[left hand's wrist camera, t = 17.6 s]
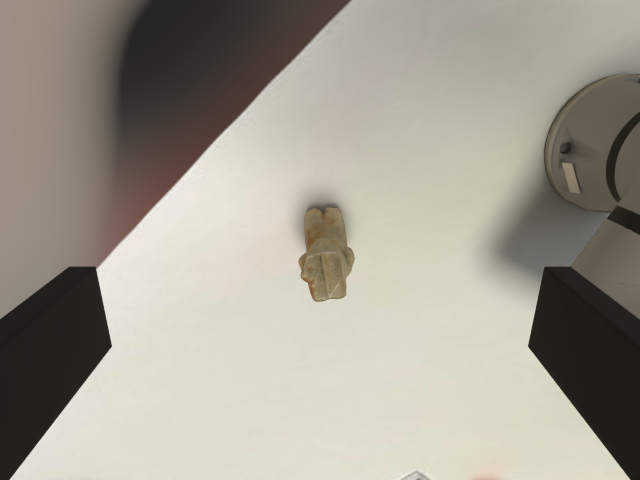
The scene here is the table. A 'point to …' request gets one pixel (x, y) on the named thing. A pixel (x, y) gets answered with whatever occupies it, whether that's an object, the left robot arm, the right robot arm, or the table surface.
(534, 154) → the table surface
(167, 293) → the table surface
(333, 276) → the sculpture
